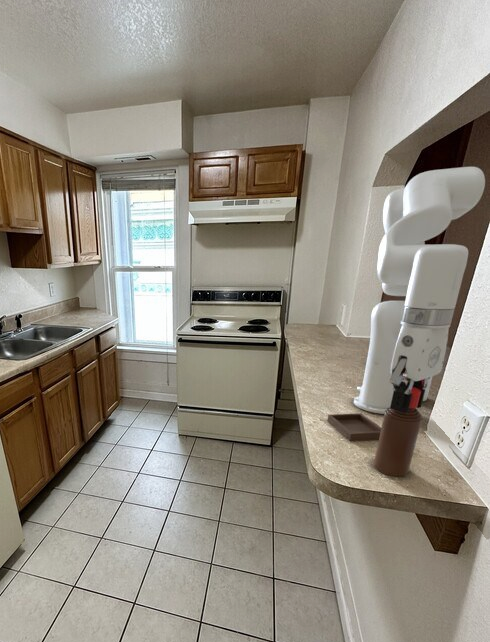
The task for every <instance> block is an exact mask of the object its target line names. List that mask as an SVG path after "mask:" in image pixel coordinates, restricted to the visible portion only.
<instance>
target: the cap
mask: <svg viewBox="0 0 490 642" xmlns="http://www.w3.org/2000/svg"><path fill="white" fill-rule="evenodd" d="M420 393H421V390H419V389H417V388H415V387H412V390H411V393H410V394H412V399H411V403H410V407H409V409H412V408H416V407H417V406H418V402H419V398H420ZM416 409H417V408H416Z"/></svg>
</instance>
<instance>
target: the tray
mask: <svg viewBox="0 0 490 642" xmlns="http://www.w3.org/2000/svg"><path fill="white" fill-rule="evenodd" d="M326 421H327V422H328V424H330V425H331V426H332V427H333V428H335V430H337V432H338V433H340V434H341V435H342V436H343V437H345V438H346V439H347V440H348V441H349V442H353V441H374V440H379V437H380V432H381V428H382V426H380V425H378V424H377V423H375V422H374V421H373V420H371V419H370V418H368V417H367V416H366V415H364V414H363V413H361V412H355V413H335V414H328V415H327V419H326Z"/></svg>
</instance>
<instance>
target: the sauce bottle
mask: <svg viewBox="0 0 490 642" xmlns="http://www.w3.org/2000/svg"><path fill="white" fill-rule="evenodd" d="M422 421H423V416H422V414H421V413H420V412H419V410H418V408H412V409H409V411H408V413H403V412H400V411H397V410H394V409H391V408H390V407H389V408H387V410H386V411H385V414H383V419H382V423H381V432H380V437H379V439H378V441H377V446H376V452H375V455H374V461H373V466H374V468H375V469H376V470H377V471H378V472H380V473H381V474H383V475H386V476H390V477H395V478H403V477H405V476H408V474H409V472H410V471H409V470H410V468H411V467H410V466H411V463H412V459H413V455H414V451H415V448H416V444H417V440H418V436H419V433H420V428H421V425H422Z"/></svg>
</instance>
